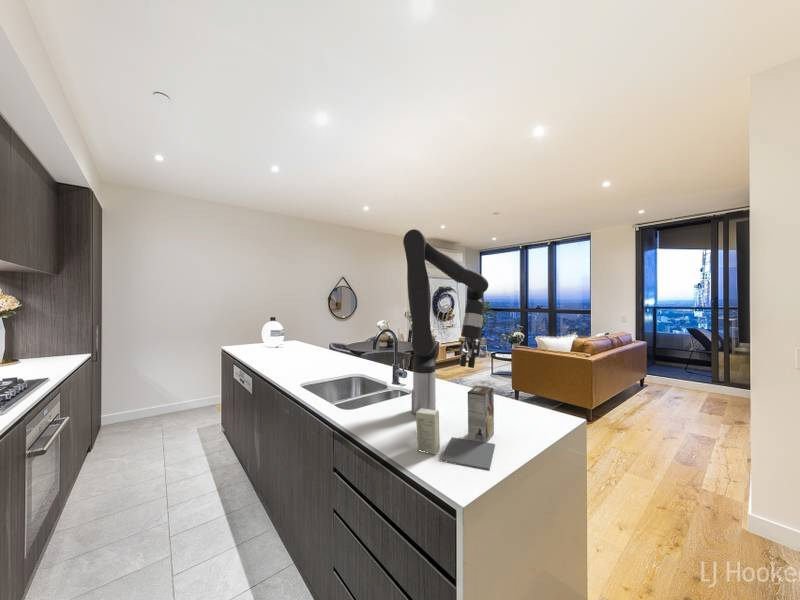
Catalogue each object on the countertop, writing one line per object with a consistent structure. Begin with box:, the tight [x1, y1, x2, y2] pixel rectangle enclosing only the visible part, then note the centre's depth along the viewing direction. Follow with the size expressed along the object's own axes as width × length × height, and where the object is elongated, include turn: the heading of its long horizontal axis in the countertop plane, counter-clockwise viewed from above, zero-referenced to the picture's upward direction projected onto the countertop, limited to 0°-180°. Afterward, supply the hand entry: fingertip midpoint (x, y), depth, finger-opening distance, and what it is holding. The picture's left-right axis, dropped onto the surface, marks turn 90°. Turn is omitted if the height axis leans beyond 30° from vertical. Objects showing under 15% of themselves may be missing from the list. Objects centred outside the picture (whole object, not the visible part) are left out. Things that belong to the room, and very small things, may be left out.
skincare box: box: [415, 408, 441, 455], centre depth 99 cm, size 6×4×12 cm
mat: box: [439, 436, 496, 471], centre depth 97 cm, size 14×16×1 cm
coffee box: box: [467, 385, 495, 443], centre depth 108 cm, size 9×6×16 cm
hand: (466, 367), depth 123 cm, fingers open, 8 cm apart
